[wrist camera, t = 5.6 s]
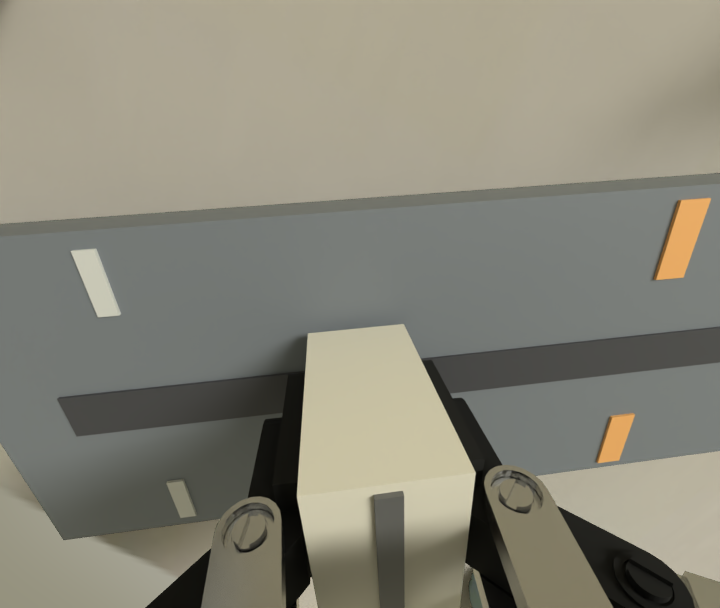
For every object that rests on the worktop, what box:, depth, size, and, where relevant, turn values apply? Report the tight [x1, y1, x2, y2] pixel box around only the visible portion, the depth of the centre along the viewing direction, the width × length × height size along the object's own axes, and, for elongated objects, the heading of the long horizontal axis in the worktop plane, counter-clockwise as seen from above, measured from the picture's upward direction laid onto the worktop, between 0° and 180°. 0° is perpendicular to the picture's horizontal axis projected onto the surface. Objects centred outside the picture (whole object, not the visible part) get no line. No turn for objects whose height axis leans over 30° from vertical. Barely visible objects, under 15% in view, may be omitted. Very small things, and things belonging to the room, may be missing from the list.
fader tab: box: [297, 324, 476, 608], centre depth 9 cm, size 5×3×6 cm, turn 3°
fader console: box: [0, 173, 720, 540], centre depth 13 cm, size 12×30×3 cm, turn 93°
